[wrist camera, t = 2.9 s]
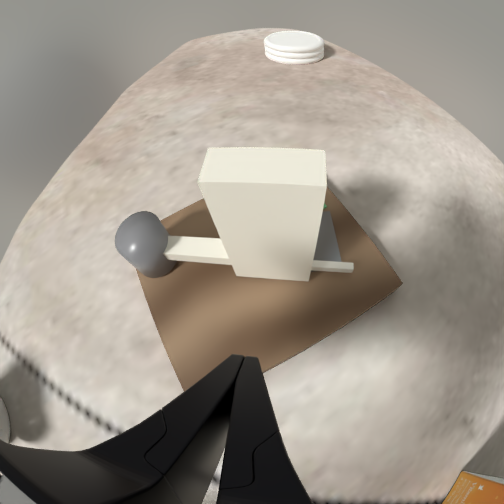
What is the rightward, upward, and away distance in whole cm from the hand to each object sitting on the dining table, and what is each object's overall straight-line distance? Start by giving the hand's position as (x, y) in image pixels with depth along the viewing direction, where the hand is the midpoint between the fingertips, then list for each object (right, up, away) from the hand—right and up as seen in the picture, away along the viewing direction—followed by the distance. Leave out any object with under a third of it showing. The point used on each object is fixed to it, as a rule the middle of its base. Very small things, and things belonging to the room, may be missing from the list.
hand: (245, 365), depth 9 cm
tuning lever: (-1, +3, +12) cm, 12 cm away
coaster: (+7, +37, +30) cm, 48 cm away
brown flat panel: (0, +2, +13) cm, 13 cm away
